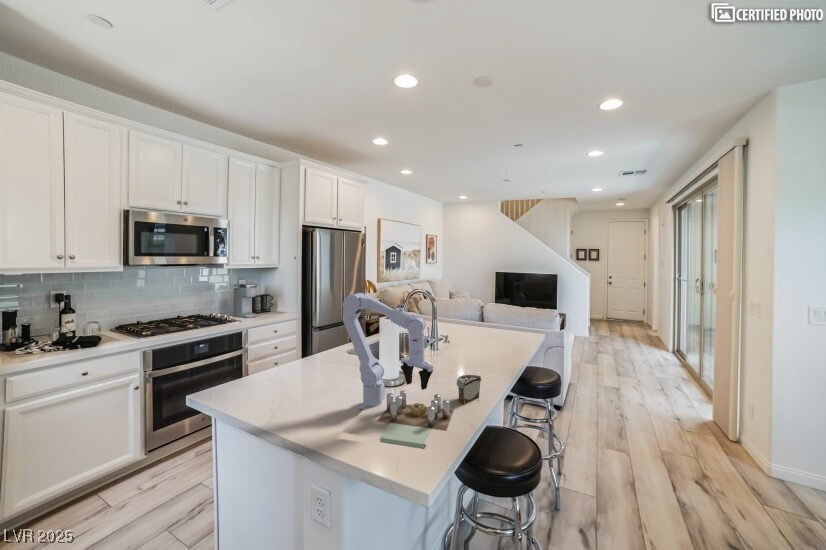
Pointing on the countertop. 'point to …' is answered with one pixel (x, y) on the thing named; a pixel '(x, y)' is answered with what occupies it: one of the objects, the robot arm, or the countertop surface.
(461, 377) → the food container
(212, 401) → the countertop surface
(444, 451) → the countertop surface
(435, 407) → the spacers
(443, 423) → the board
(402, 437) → the pad
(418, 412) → the nut
